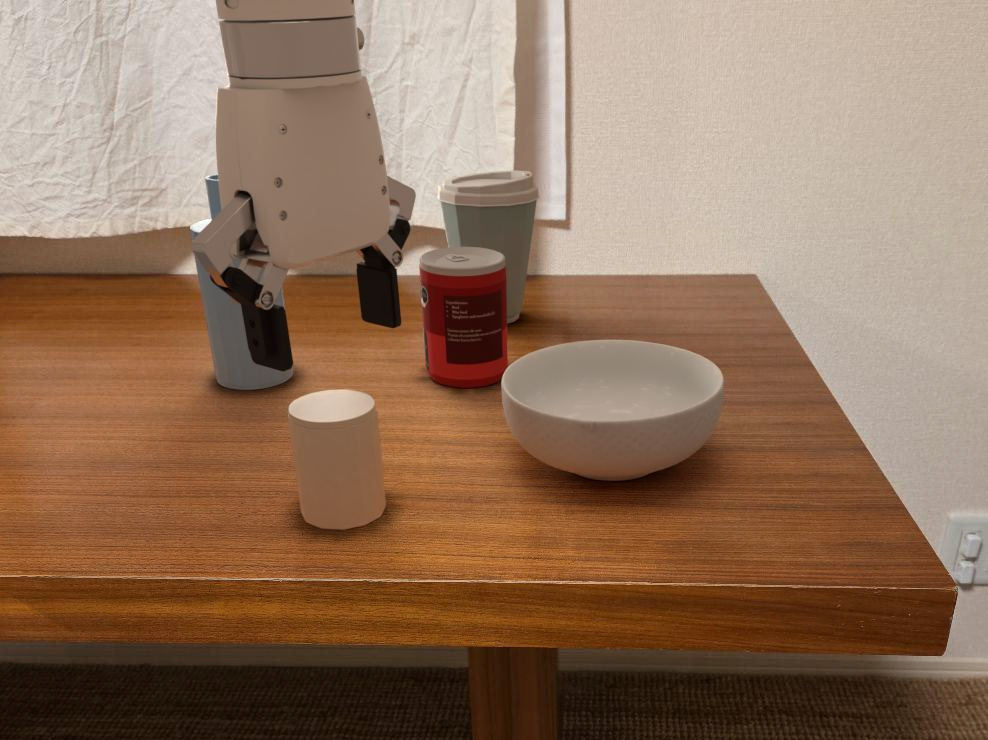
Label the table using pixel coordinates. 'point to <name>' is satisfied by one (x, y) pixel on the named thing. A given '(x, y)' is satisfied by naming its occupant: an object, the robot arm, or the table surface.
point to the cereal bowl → (612, 406)
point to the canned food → (464, 315)
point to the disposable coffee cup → (493, 221)
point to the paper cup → (337, 458)
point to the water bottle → (230, 321)
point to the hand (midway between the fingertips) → (330, 344)
